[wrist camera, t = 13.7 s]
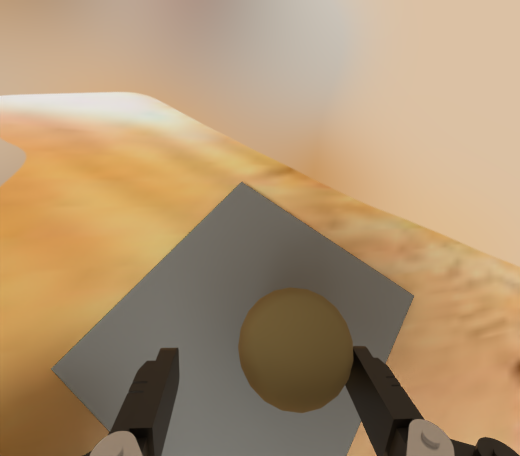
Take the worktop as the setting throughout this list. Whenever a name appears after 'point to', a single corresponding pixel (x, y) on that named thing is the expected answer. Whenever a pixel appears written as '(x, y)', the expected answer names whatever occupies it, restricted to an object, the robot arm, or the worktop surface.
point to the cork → (295, 350)
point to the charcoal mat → (233, 332)
